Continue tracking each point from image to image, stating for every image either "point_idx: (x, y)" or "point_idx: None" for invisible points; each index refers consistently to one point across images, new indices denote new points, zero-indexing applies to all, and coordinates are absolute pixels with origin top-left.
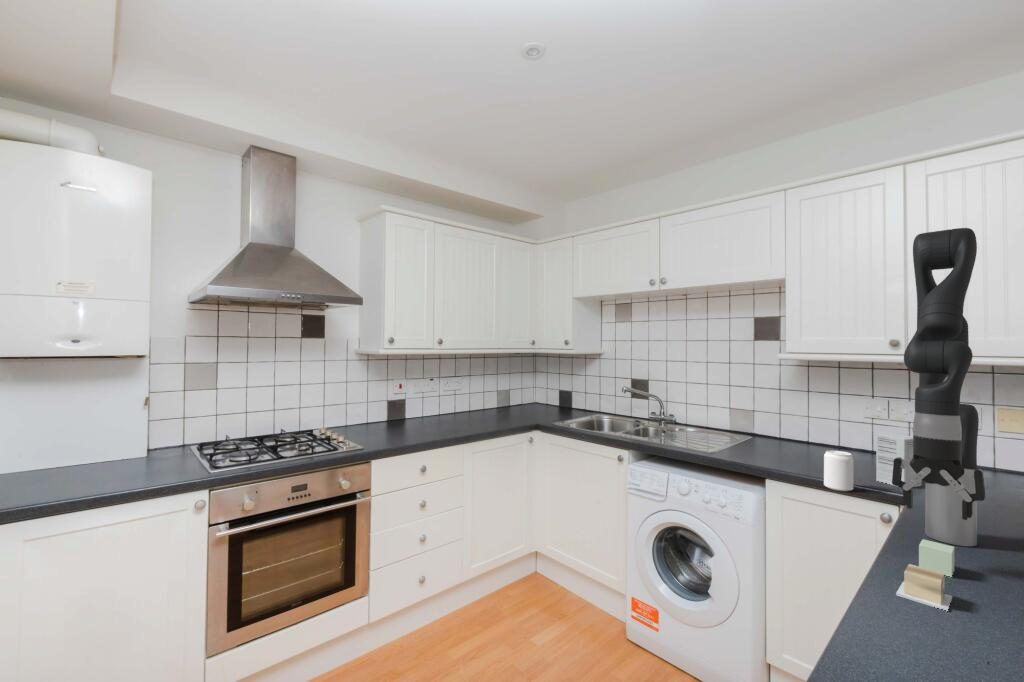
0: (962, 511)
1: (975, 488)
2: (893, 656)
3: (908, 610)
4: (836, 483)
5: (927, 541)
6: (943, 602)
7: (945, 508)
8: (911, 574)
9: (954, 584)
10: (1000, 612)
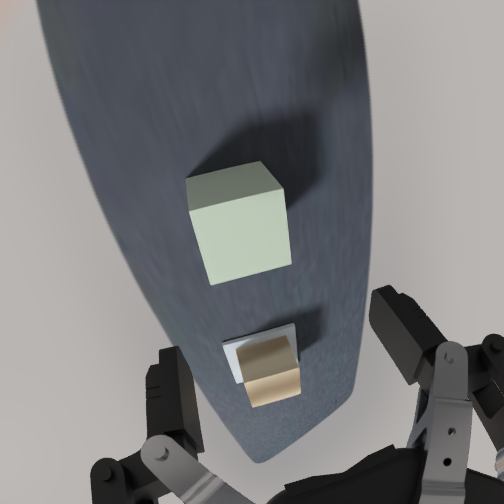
0: (386, 347)
1: (482, 421)
2: (280, 441)
3: None
4: None
5: (209, 220)
6: None
7: None
8: (262, 403)
9: None
10: (351, 302)
